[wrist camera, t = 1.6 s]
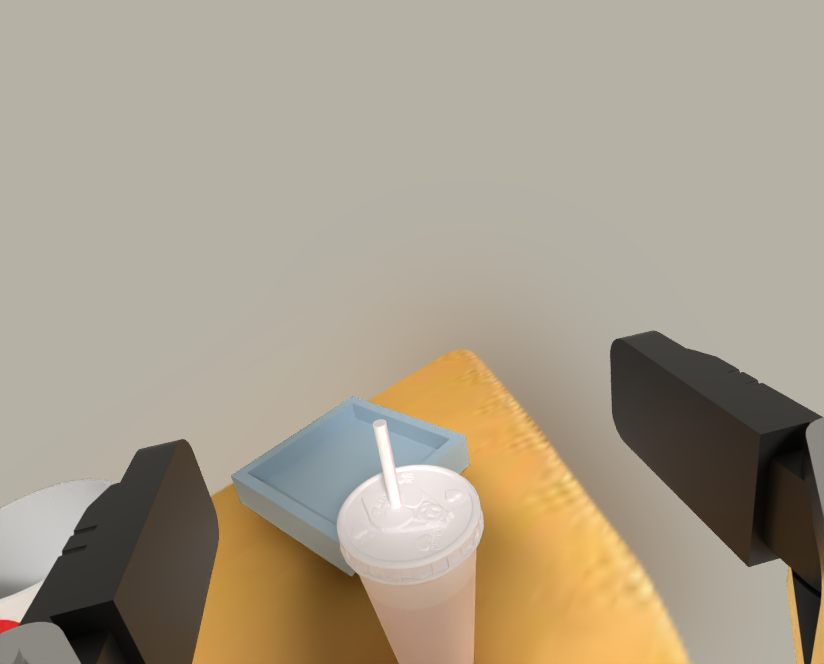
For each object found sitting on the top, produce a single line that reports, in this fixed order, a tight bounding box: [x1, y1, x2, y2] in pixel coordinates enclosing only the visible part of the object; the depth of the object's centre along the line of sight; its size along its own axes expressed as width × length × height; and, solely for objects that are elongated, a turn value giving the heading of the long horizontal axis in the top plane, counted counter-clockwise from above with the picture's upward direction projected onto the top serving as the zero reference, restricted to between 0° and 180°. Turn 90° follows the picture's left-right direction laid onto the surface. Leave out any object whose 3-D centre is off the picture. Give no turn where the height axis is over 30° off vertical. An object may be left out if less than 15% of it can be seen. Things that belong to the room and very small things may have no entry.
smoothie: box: [337, 419, 484, 664], centre depth 25 cm, size 6×6×14 cm
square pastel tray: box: [231, 397, 470, 577], centre depth 38 cm, size 12×12×4 cm
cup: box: [0, 479, 114, 634], centre depth 27 cm, size 8×8×10 cm
